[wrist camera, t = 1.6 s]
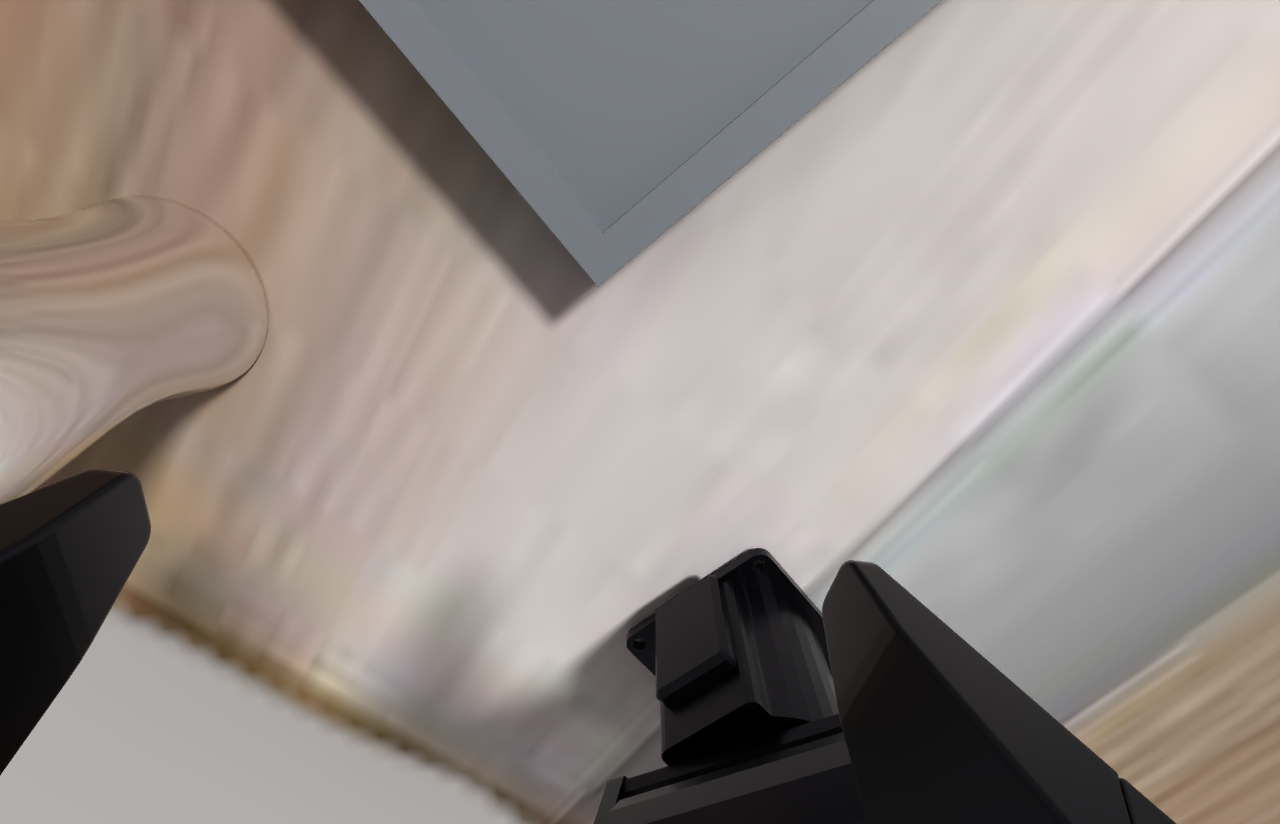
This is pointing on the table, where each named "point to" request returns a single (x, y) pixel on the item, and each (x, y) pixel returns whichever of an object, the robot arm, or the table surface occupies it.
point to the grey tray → (632, 95)
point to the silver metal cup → (114, 325)
